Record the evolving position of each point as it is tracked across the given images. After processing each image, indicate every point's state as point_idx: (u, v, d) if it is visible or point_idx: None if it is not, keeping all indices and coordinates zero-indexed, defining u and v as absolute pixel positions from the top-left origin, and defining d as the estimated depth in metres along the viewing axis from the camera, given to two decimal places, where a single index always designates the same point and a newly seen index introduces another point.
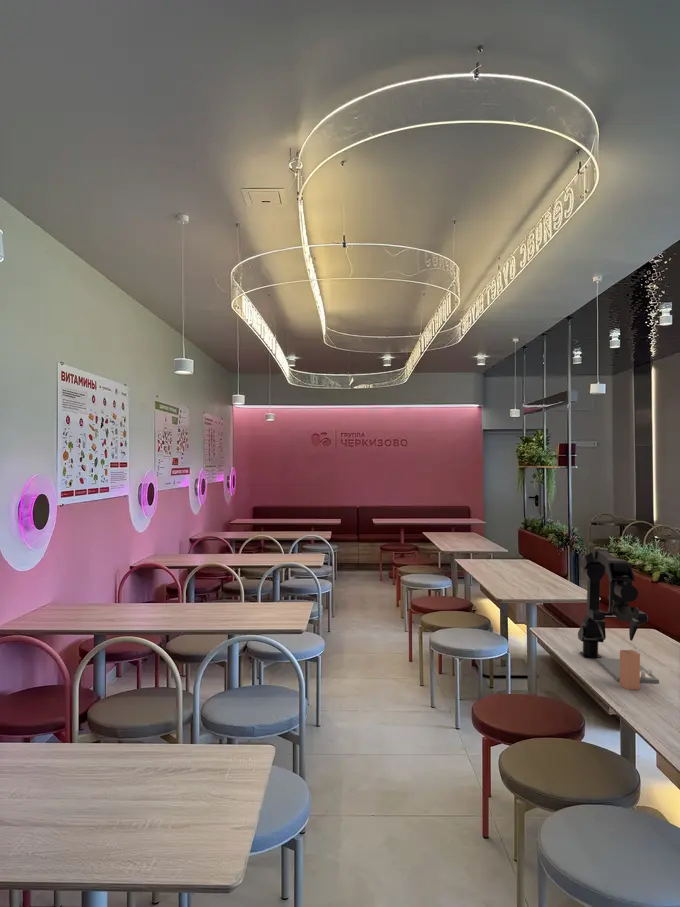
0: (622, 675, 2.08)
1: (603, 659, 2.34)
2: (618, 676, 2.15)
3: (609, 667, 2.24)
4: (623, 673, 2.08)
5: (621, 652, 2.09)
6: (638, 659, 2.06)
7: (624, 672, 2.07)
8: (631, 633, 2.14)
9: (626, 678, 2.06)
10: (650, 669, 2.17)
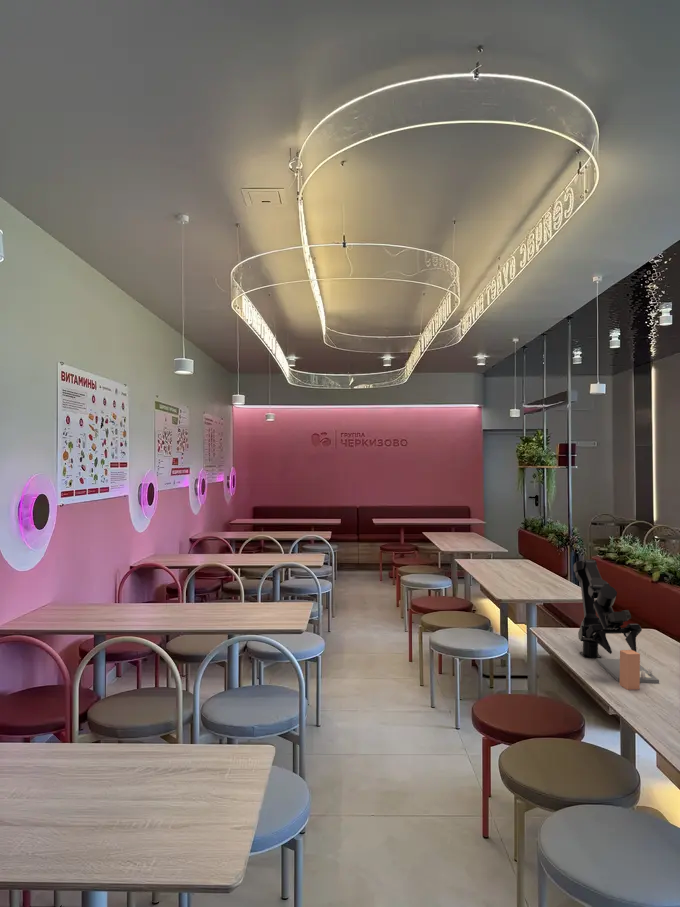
0: (622, 675, 2.08)
1: (603, 659, 2.34)
2: (618, 676, 2.15)
3: (609, 667, 2.24)
4: (623, 673, 2.08)
5: (621, 652, 2.09)
6: (638, 659, 2.06)
7: (624, 672, 2.07)
8: (632, 646, 2.14)
9: (626, 678, 2.06)
10: (650, 669, 2.17)
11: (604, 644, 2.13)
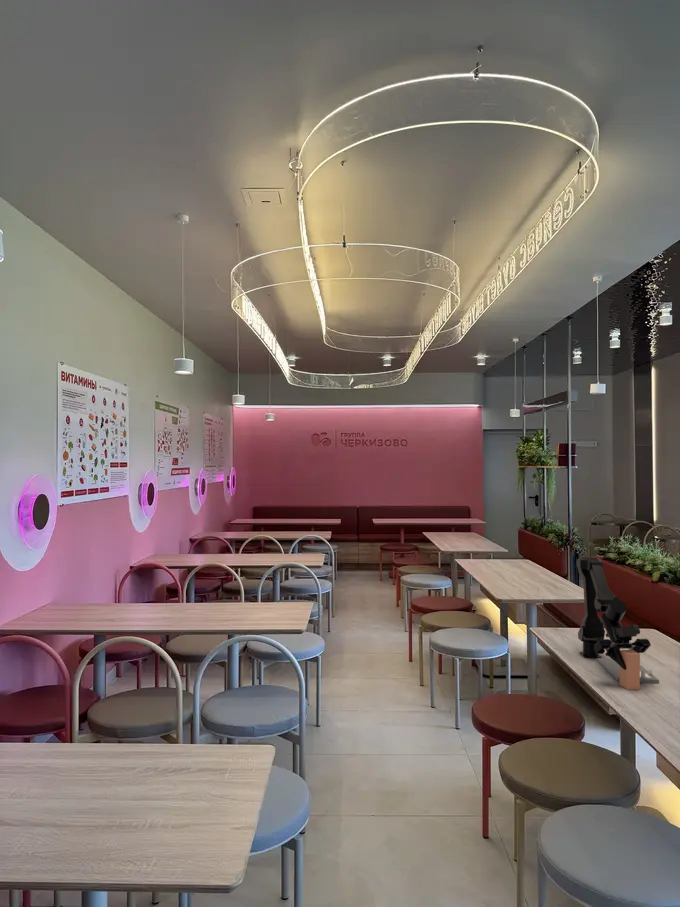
0: (622, 675, 2.08)
1: (603, 659, 2.34)
2: (618, 676, 2.15)
3: (609, 667, 2.24)
4: (623, 673, 2.08)
5: (621, 652, 2.09)
6: (638, 659, 2.06)
7: (624, 672, 2.07)
8: None
9: (626, 678, 2.06)
10: (650, 669, 2.17)
11: (618, 660, 2.09)
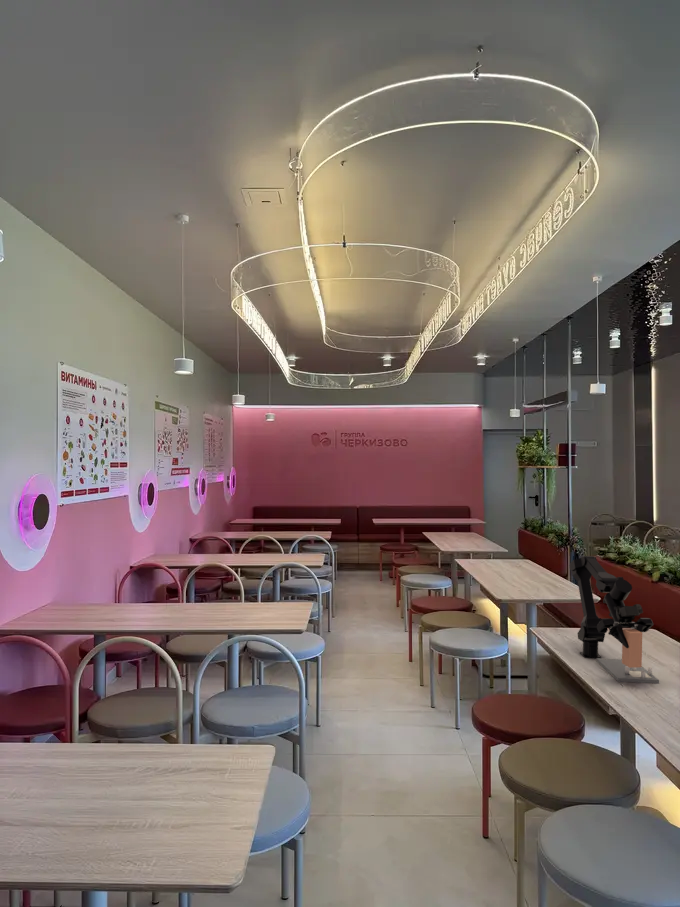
0: (624, 653, 2.12)
1: (603, 659, 2.34)
2: (618, 676, 2.15)
3: (609, 667, 2.24)
4: (625, 651, 2.11)
5: (624, 631, 2.13)
6: (640, 638, 2.09)
7: (627, 650, 2.10)
8: None
9: (628, 656, 2.10)
10: (650, 669, 2.17)
11: (621, 638, 2.12)
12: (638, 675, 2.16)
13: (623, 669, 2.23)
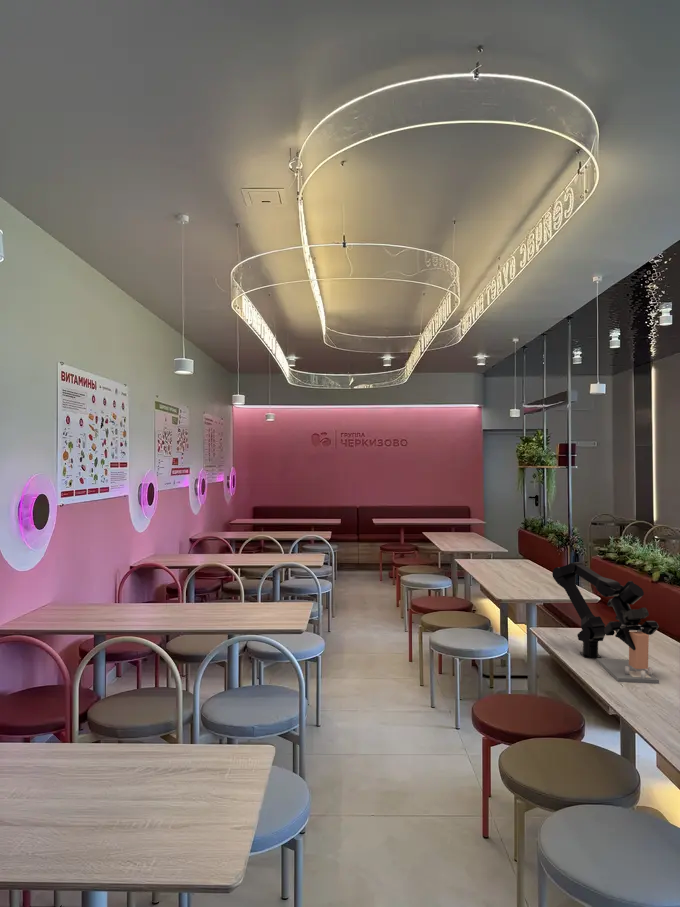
0: (631, 655, 2.18)
1: (603, 659, 2.34)
2: (618, 676, 2.15)
3: (609, 667, 2.24)
4: (632, 653, 2.17)
5: (630, 633, 2.19)
6: (647, 640, 2.16)
7: (634, 652, 2.17)
8: None
9: (635, 658, 2.16)
10: (650, 669, 2.17)
11: (628, 641, 2.18)
12: (638, 675, 2.16)
13: (623, 669, 2.23)
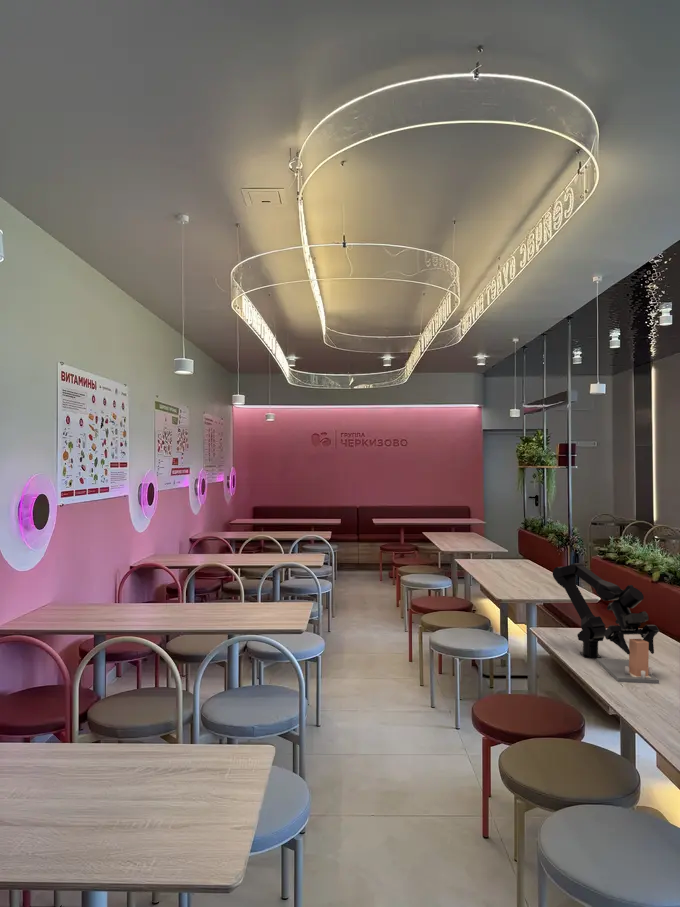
0: (631, 663, 2.18)
1: (603, 659, 2.34)
2: (618, 676, 2.15)
3: (609, 667, 2.24)
4: (632, 661, 2.17)
5: (630, 641, 2.19)
6: (647, 647, 2.16)
7: (634, 660, 2.17)
8: (650, 646, 2.19)
9: (635, 665, 2.16)
10: (650, 669, 2.17)
11: (622, 645, 2.18)
12: None
13: (623, 669, 2.23)
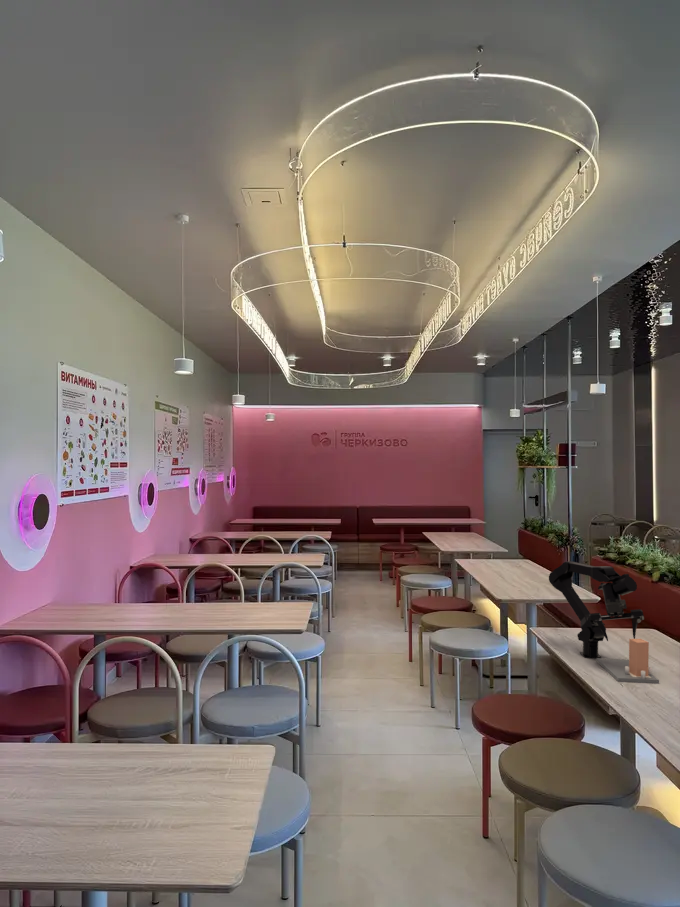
0: (631, 663, 2.18)
1: (603, 659, 2.34)
2: (618, 676, 2.15)
3: (609, 667, 2.24)
4: (632, 661, 2.17)
5: (630, 641, 2.19)
6: (647, 647, 2.16)
7: (634, 660, 2.17)
8: None
9: (635, 665, 2.16)
10: (650, 669, 2.17)
11: (602, 632, 2.28)
12: None
13: (623, 669, 2.23)
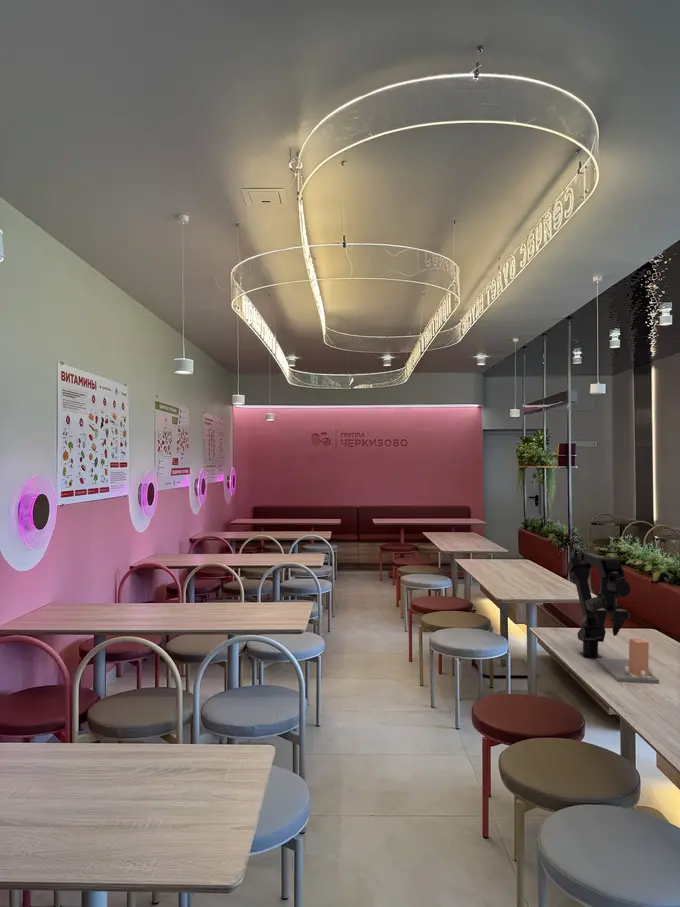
0: (631, 663, 2.18)
1: (603, 659, 2.34)
2: (618, 676, 2.15)
3: (609, 667, 2.24)
4: (632, 661, 2.17)
5: (630, 641, 2.19)
6: (647, 647, 2.16)
7: (634, 660, 2.17)
8: None
9: (635, 665, 2.16)
10: (650, 669, 2.17)
11: None
12: None
13: (623, 669, 2.23)
